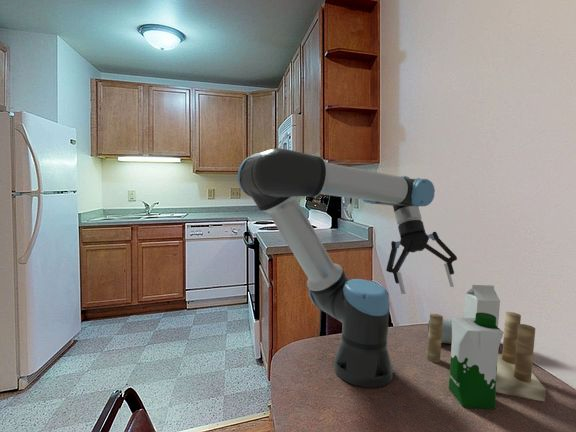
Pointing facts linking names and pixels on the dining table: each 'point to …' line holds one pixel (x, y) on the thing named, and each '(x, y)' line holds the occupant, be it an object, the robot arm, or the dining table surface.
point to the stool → (518, 361)
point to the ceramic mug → (445, 331)
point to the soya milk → (474, 360)
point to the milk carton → (482, 301)
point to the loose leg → (435, 338)
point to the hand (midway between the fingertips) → (427, 290)
